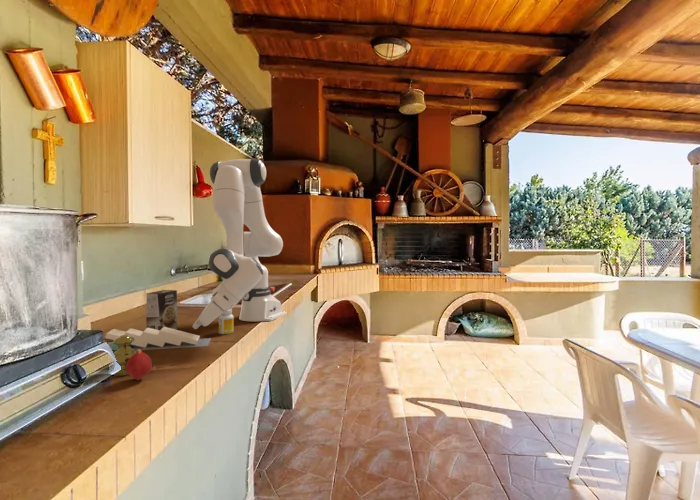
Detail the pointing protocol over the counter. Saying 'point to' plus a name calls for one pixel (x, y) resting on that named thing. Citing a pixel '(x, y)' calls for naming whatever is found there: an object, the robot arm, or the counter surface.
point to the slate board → (150, 347)
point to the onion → (138, 365)
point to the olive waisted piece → (123, 352)
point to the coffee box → (161, 309)
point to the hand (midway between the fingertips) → (194, 327)
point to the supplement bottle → (226, 322)
